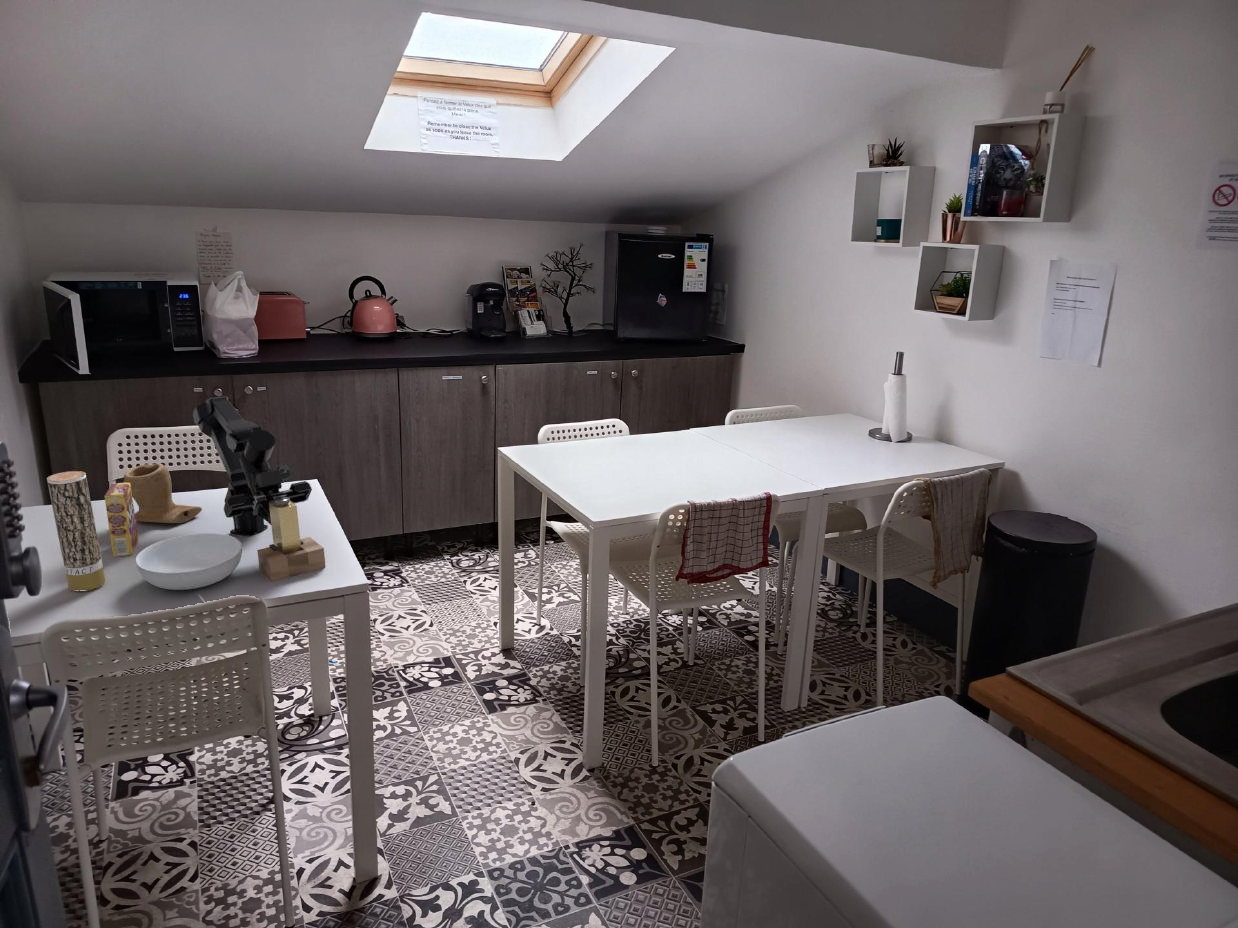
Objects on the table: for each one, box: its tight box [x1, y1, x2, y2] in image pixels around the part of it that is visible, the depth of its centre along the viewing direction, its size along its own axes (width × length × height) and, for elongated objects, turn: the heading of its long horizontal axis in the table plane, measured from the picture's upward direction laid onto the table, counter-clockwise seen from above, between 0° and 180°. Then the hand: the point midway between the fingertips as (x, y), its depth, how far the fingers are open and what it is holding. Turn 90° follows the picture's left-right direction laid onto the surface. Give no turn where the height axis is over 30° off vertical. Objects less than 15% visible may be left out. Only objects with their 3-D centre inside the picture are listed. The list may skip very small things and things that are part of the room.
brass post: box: [269, 497, 301, 555], centre depth 190 cm, size 6×4×16 cm, turn 41°
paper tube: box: [46, 470, 106, 591], centre depth 177 cm, size 7×7×25 cm
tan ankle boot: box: [123, 462, 203, 524], centre depth 214 cm, size 15×12×15 cm
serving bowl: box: [135, 532, 243, 591], centre depth 184 cm, size 21×21×7 cm
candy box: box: [104, 482, 139, 557], centre depth 197 cm, size 9×4×15 cm, turn 20°
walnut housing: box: [257, 536, 327, 582], centre depth 190 cm, size 8×12×6 cm, turn 131°
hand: (280, 530), depth 192 cm, fingers closed, pressing on brass post
